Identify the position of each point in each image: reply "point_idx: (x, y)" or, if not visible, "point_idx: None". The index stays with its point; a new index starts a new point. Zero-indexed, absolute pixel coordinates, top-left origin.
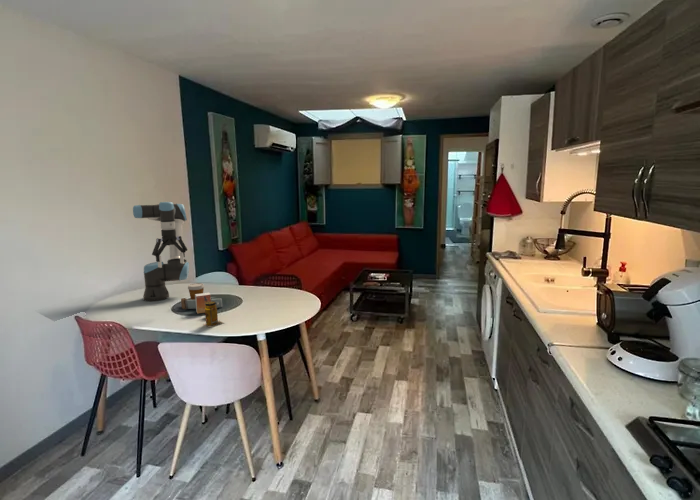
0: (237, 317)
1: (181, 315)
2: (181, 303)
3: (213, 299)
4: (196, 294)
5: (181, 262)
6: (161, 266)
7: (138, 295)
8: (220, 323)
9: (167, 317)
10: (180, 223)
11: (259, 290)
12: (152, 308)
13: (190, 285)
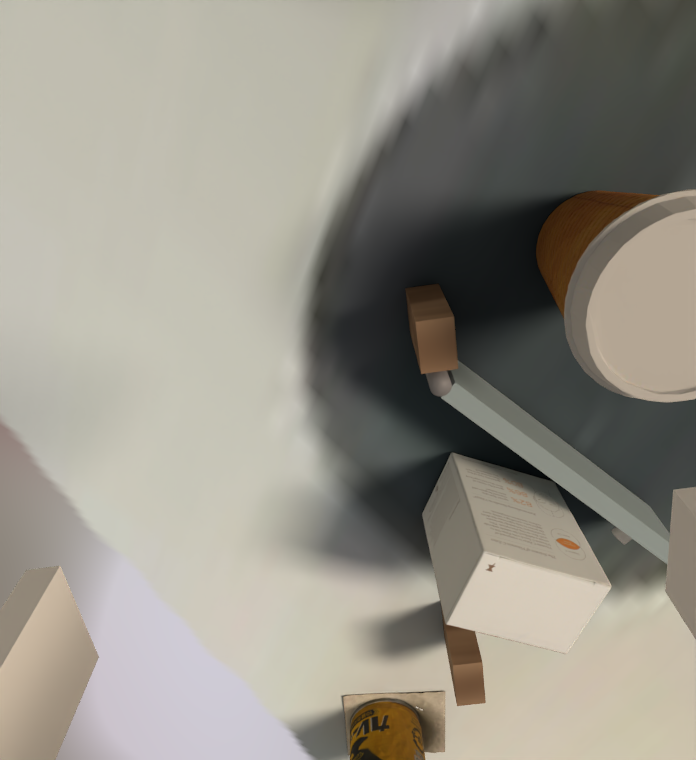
0: (556, 724)
1: (319, 461)
2: (410, 306)
3: (620, 529)
4: (482, 574)
5: (681, 552)
6: (79, 677)
7: None
8: (423, 744)
9: (217, 430)
10: None
11: None
12: (184, 43)
13: (638, 255)
